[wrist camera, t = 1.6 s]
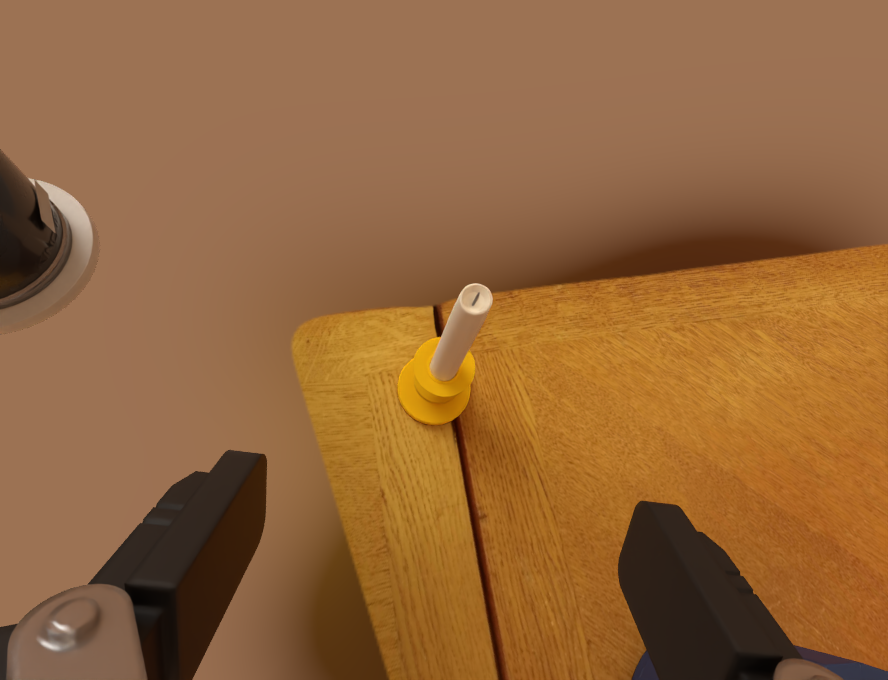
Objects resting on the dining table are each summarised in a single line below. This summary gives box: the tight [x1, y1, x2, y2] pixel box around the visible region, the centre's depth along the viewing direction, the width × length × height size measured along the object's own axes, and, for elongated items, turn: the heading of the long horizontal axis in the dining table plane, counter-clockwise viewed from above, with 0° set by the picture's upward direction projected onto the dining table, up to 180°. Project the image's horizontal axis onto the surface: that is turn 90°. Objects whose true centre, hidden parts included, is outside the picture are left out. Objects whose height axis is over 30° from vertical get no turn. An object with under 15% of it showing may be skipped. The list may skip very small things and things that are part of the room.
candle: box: [397, 284, 493, 425], centre depth 28 cm, size 5×5×16 cm
